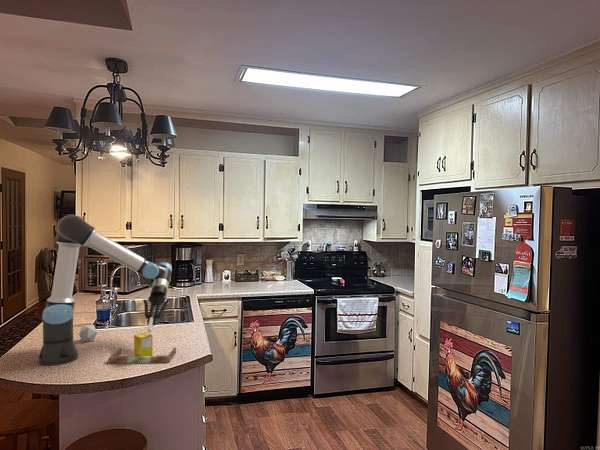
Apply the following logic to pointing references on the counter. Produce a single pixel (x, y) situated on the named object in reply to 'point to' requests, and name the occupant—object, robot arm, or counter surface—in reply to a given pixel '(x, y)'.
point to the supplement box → (143, 345)
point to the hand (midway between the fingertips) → (149, 330)
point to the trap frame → (140, 358)
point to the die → (88, 333)
